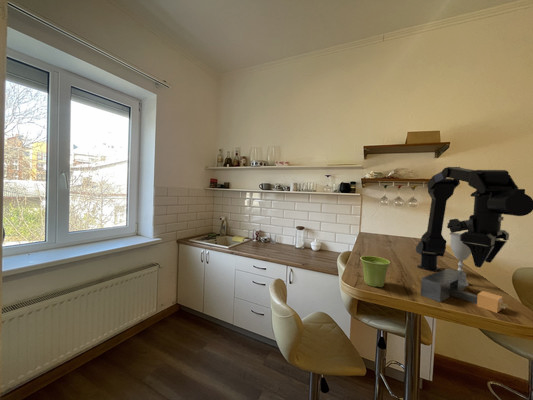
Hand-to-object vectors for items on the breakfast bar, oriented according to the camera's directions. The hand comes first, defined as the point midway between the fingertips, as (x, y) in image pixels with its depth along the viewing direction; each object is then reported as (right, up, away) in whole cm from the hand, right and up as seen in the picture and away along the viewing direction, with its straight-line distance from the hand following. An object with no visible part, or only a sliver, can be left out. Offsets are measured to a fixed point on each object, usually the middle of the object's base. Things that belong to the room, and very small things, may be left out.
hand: (483, 264), depth 62 cm
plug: (-3, -12, +3) cm, 12 cm away
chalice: (+7, -12, +15) cm, 20 cm away
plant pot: (-27, -11, +12) cm, 31 cm away
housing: (-6, -11, +7) cm, 14 cm away
